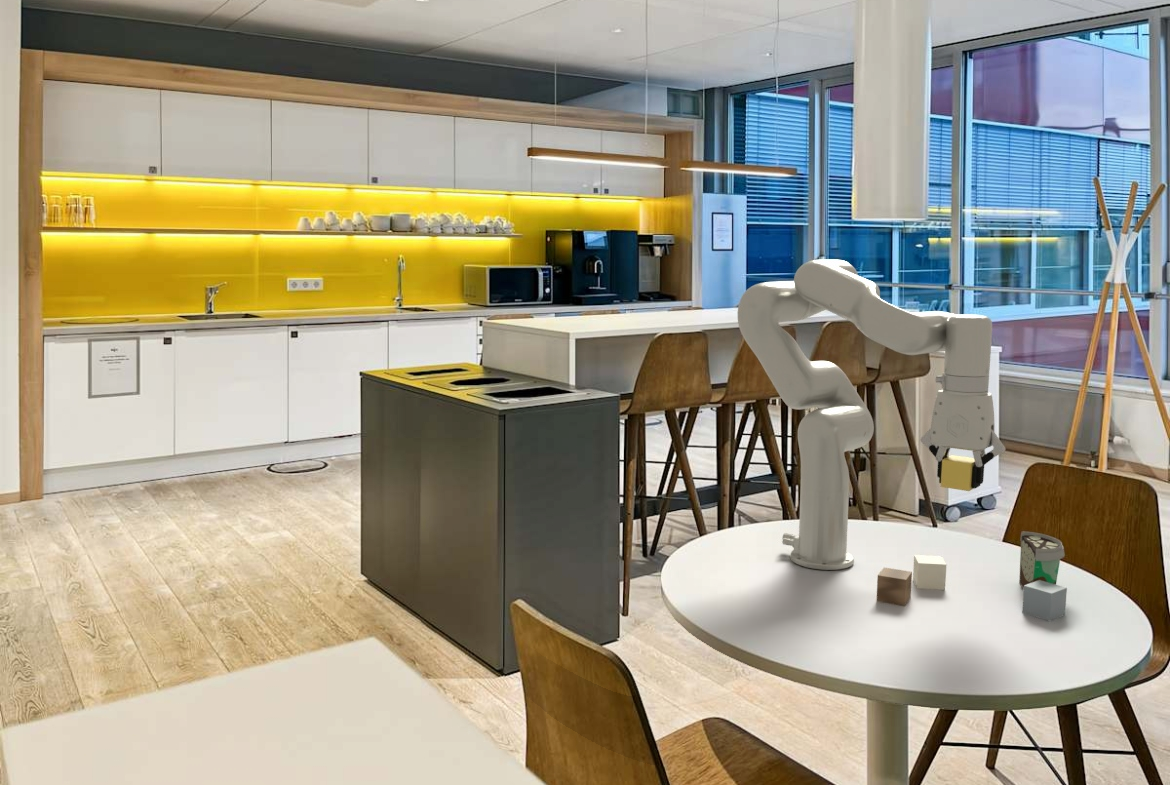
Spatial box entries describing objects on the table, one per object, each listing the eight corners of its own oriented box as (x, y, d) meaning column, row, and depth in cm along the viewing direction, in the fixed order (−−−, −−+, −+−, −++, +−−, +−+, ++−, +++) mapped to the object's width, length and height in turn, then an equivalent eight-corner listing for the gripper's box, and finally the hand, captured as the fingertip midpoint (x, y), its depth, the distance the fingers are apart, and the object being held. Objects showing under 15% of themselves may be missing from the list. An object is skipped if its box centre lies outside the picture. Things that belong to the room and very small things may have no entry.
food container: (1069, 605, 176) (1073, 551, 174) (1032, 603, 177) (1036, 549, 176) (1051, 583, 188) (1055, 532, 186) (1017, 580, 189) (1020, 530, 188)
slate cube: (1022, 612, 173) (1024, 585, 172) (1037, 606, 176) (1039, 579, 175) (1049, 621, 169) (1051, 593, 168) (1064, 615, 172) (1066, 587, 171)
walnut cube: (876, 601, 178) (877, 575, 177) (882, 593, 182) (884, 567, 182) (904, 606, 176) (906, 579, 175) (910, 598, 180) (911, 571, 179)
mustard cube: (940, 486, 177) (942, 459, 176) (950, 481, 181) (951, 455, 180) (968, 491, 174) (970, 463, 173) (978, 486, 177) (980, 458, 177)
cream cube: (917, 588, 185) (918, 563, 184) (912, 579, 190) (914, 554, 189) (945, 590, 184) (946, 564, 183) (939, 581, 189) (941, 556, 188)
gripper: (910, 382, 177) (905, 481, 179) (1009, 391, 166) (1002, 496, 169) (926, 378, 183) (920, 473, 185) (1022, 386, 172) (1015, 488, 175)
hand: (959, 483), depth 177 cm, fingers closed on mustard cube, 5 cm apart
